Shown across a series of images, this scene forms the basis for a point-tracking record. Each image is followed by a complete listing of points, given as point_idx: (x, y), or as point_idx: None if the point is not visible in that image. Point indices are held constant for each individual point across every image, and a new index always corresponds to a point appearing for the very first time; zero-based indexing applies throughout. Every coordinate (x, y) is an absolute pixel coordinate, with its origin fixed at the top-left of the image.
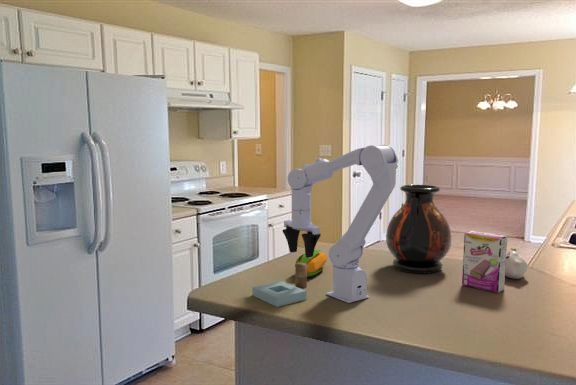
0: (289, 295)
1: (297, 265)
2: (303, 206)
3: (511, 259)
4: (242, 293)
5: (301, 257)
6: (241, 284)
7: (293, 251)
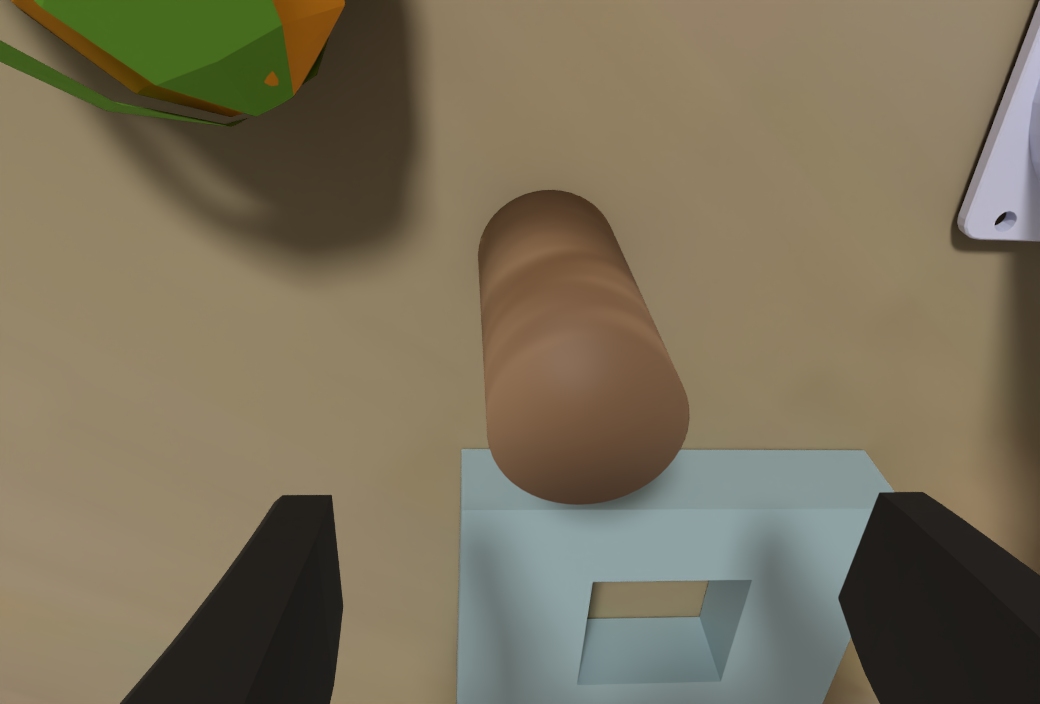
0: (844, 646)
1: (598, 500)
2: None
3: None
4: (366, 696)
5: None
6: (122, 619)
7: (337, 579)
